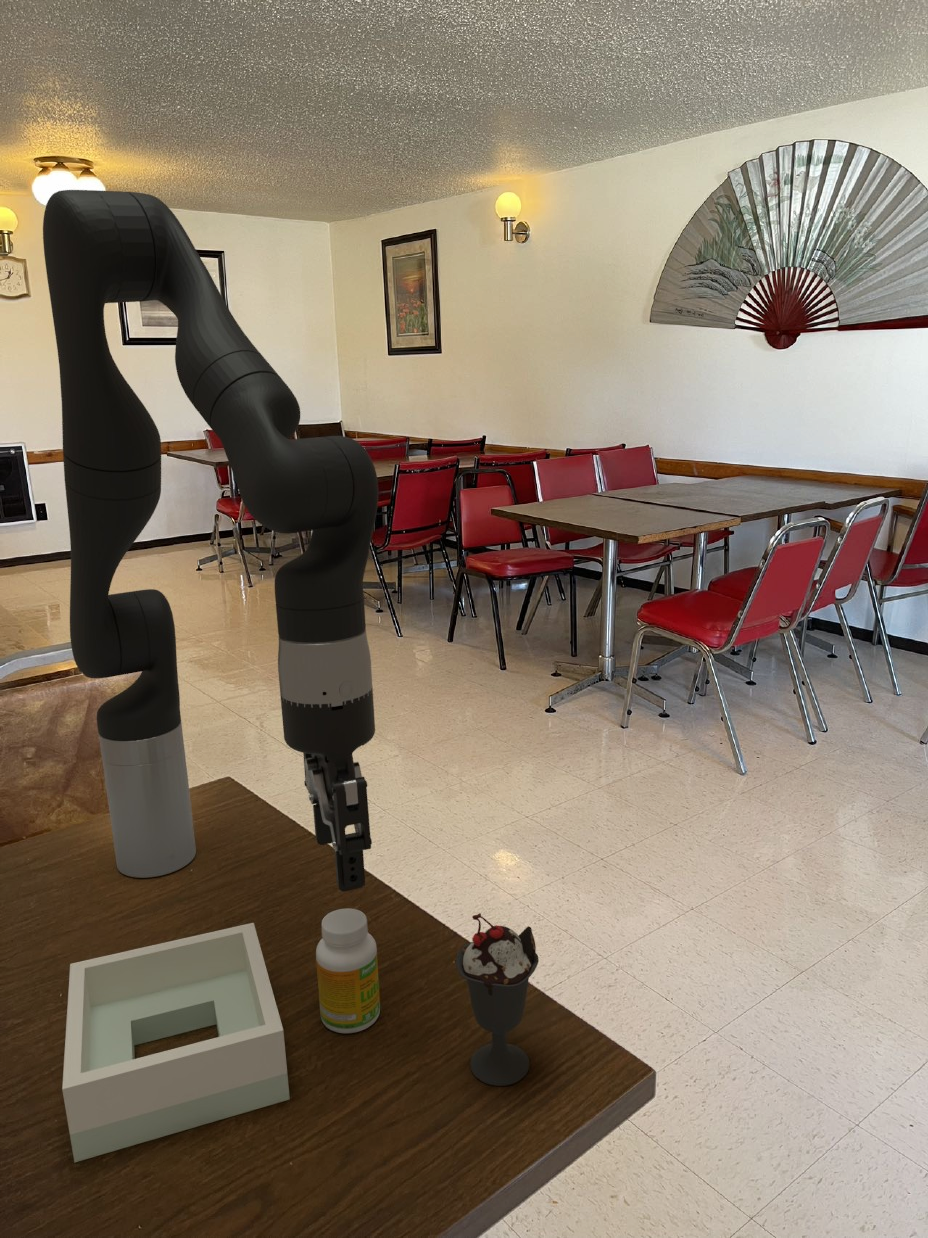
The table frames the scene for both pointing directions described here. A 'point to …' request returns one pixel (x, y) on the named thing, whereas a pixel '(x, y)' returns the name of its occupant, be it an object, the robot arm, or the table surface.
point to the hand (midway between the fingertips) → (339, 863)
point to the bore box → (161, 1007)
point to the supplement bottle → (347, 972)
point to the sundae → (498, 997)
